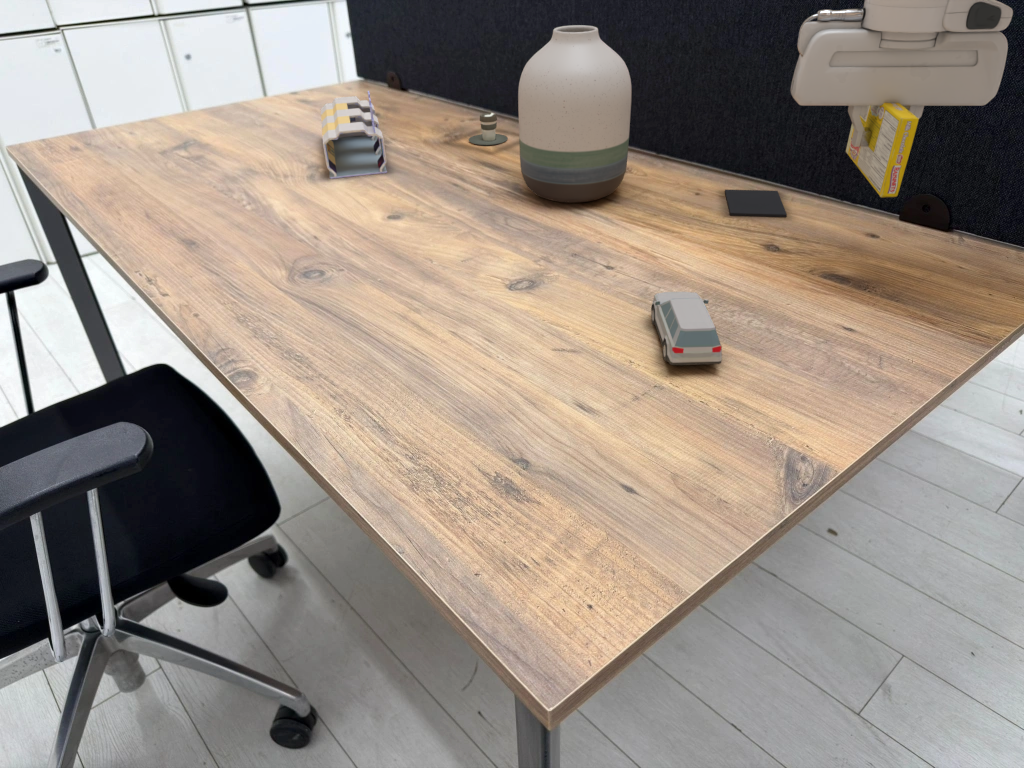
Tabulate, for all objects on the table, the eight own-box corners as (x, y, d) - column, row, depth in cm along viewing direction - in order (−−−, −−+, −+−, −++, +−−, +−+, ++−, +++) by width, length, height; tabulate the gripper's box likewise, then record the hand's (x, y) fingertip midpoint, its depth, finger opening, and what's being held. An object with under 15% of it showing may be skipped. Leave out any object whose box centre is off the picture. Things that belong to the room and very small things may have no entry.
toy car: (696, 312, 83) (701, 272, 80) (723, 374, 72) (730, 331, 70) (646, 313, 83) (649, 274, 80) (666, 376, 72) (670, 333, 70)
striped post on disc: (446, 142, 142) (444, 116, 139) (487, 128, 149) (486, 103, 146) (492, 153, 135) (491, 125, 132) (532, 137, 142) (532, 111, 140)
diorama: (388, 172, 128) (378, 95, 120) (329, 178, 126) (315, 100, 118) (377, 134, 148) (367, 66, 140) (326, 139, 146) (314, 70, 138)
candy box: (900, 198, 76) (920, 117, 71) (879, 198, 76) (897, 118, 72) (862, 151, 89) (877, 80, 84) (844, 152, 89) (857, 81, 85)
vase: (646, 189, 117) (659, 25, 103) (580, 220, 107) (584, 43, 93) (566, 168, 126) (568, 16, 113) (498, 195, 116) (491, 32, 103)
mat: (777, 193, 113) (777, 190, 113) (786, 217, 105) (786, 214, 105) (724, 191, 115) (725, 189, 114) (729, 215, 106) (730, 212, 106)
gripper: (808, 14, 72) (784, 153, 80) (1032, 10, 69) (983, 155, 77) (798, 5, 77) (775, 136, 85) (1005, 1, 74) (962, 138, 82)
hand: (876, 145), depth 81 cm, fingers closed on candy box, 2 cm apart
